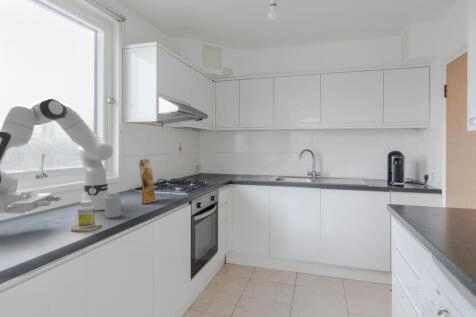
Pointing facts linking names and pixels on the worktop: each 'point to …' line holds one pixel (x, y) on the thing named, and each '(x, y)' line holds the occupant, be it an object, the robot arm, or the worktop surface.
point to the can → (112, 205)
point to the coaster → (79, 229)
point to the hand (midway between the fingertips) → (54, 200)
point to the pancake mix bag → (147, 181)
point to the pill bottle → (86, 214)
